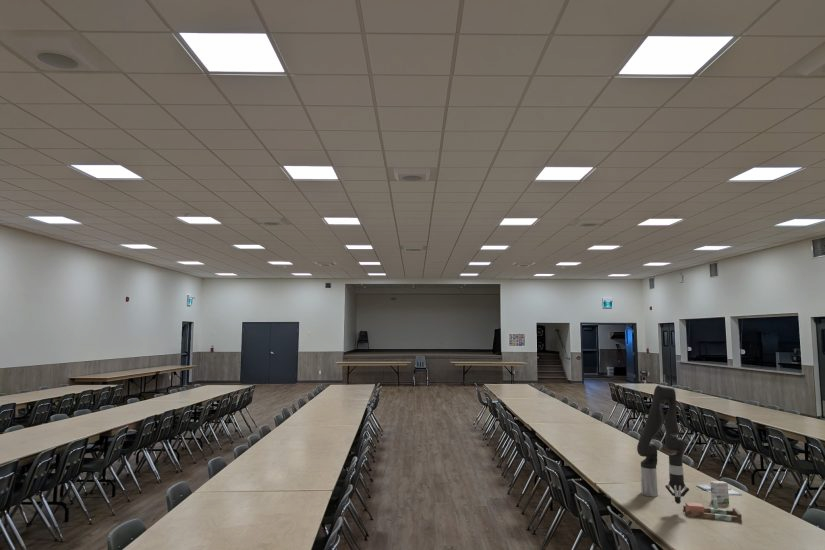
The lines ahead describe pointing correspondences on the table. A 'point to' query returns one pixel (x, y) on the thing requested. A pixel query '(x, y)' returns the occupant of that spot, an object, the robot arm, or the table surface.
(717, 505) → the post
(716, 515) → the slot track
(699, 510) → the block
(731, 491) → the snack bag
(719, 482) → the ink box
